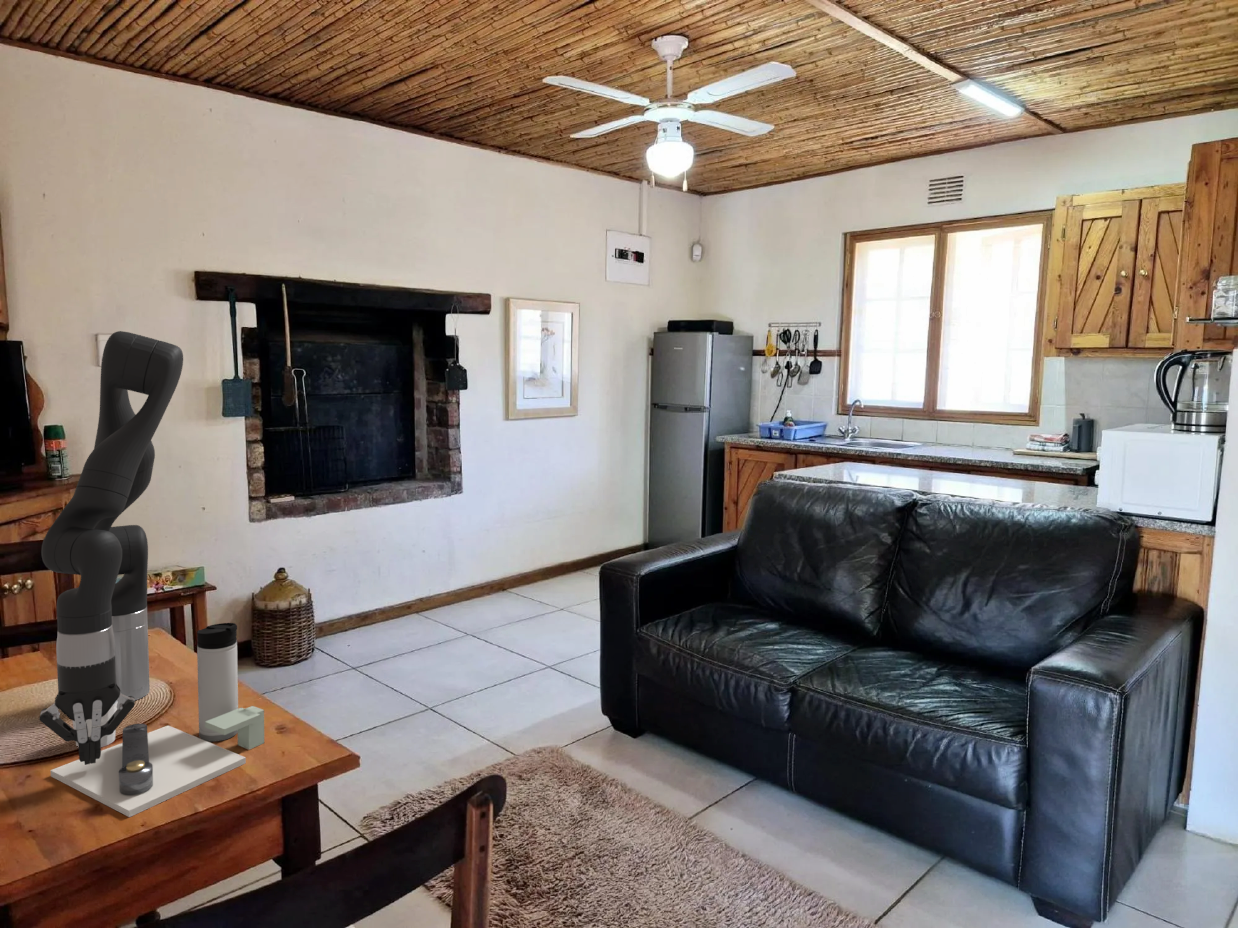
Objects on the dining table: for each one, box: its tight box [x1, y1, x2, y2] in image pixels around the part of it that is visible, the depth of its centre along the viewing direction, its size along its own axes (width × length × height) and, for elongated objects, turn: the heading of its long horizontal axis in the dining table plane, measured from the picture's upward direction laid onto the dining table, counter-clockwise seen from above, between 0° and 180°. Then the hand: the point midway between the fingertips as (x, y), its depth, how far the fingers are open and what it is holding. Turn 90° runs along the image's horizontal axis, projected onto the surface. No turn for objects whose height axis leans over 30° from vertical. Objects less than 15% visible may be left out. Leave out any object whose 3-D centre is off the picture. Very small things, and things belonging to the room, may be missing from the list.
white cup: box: [71, 700, 118, 748], centre depth 138 cm, size 7×7×7 cm
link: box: [119, 723, 153, 795], centre depth 128 cm, size 19×4×4 cm, turn 31°
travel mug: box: [196, 622, 239, 743], centre depth 142 cm, size 6×7×20 cm
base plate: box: [50, 725, 247, 818], centre depth 130 cm, size 21×19×1 cm
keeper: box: [205, 705, 265, 750], centre depth 137 cm, size 5×8×6 cm, turn 151°
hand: (90, 761), depth 127 cm, fingers closed
